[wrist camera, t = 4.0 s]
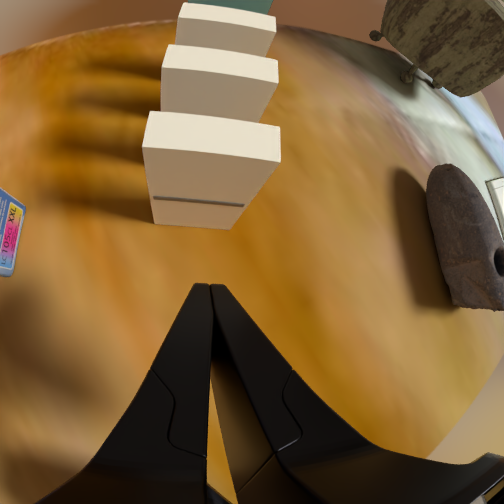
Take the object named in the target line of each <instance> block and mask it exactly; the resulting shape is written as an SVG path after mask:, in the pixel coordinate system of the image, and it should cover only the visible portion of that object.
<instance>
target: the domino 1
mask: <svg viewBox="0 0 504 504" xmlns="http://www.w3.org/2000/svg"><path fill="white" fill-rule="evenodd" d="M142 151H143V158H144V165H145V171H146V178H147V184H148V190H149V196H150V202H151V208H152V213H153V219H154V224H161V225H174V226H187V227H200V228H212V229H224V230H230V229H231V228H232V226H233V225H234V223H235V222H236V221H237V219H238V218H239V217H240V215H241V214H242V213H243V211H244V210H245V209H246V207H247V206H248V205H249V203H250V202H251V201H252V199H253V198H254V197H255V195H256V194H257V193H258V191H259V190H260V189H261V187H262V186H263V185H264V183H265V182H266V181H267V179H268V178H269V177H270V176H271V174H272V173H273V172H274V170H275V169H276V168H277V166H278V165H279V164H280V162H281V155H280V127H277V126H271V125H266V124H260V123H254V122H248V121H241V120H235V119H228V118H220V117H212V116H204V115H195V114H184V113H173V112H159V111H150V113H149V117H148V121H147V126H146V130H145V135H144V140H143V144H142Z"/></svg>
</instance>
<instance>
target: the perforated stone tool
mask: <svg viewBox="0 0 504 504" xmlns="http://www.w3.org/2000/svg"><path fill="white" fill-rule="evenodd" d="M426 197H427V208H428V215H429V219H430V223H431V226H432V230H433V233H434V240H435V244H436V248H437V252H438V257H439V261H440V266H441V269H442V273H443V274H444V278H445V282H446V283H447V284H448V285H449V287H450V292H451V296H452V298H451V299H452V303H453V304H454V305H458V306H460V307H462V308H471V309H479V308H480V309H491V310H493V311H494V312H495V311H497V310H498V311H504V243H503V241H502V238H501V235H500V233H499V230H498V228H497V225H496V223H495V220H494V218H493V216H492V214H491V212H490V209H489V208H488V206H487V204H486V202H485V200H484V198H483V197H482V195H481V193H480V192H479V190H478V189H477V187H476V186H475V184H474V183H473V182H472V180H471V179H470V178H469V177H468V176H467V175H466V174H465V173H464V172H463V171H462V170H460V169H459V168H458V167H456V166H454V165H452V164H444V165H437V166H436V167H435V168H434V169H432V171H431V173H430V175H429V178H428V181H427V189H426Z"/></svg>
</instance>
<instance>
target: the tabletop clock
mask: <svg viewBox="0 0 504 504" xmlns="http://www.w3.org/2000/svg"><path fill="white" fill-rule="evenodd" d="M502 1H503V2H504V0H502ZM369 35H370V38H371V39H372V40H373V41H379V40H380V39H381V37H385V38H386V40H387V41H388V42H389V43H390V44H391V45H392V46H393V47H394V48H396V49H397V50H398V51H399V52H400V53H401V54H403V55H404V56H405V57H406V58H407V59H409V60H410V61H411V62H412V63H413V66H412V67H411V69H410V70H409V71H403V72H402V73H401V80H402V81H403V82H405V83H410V82H412V80H413V76H412V74H413V73H414V72H415V71H416V70H417V69H418V68H419V69H420V70H422V71H423V72H424V73H426V74H427V75H428V76H430V77H431V78H432V79H433V81H432V83H433V86H434V87H435V88H437V89H439V88H442V86H443V87H444V88H445V89H447V90H448V91H449V92H451V93H453V94H454V95H457V96H459V97H465V96H469V95H472V94H474V93H476V92H478V91H480V90H481V89H483V88H484V87H486V86H488V85H490V84H491V83H493V82H495V81H496V80H498V79H500V78H501V77H502V76H503V75H504V7H503V6H502V5H501V3H500V2H499V1H498V0H387V3H386V7H385V11H384V15H383V19H382V24H381V33H380V32H378V31H376V30H374V31H371V32H370V34H369Z"/></svg>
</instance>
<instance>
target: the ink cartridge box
mask: <svg viewBox="0 0 504 504" xmlns="http://www.w3.org/2000/svg"><path fill="white" fill-rule="evenodd" d="M25 210H26V207H25V206H24V205H23V204H22V203H21V202H19V201H18V200H17V199H15V198H14V197H13V196H11V195H10V194H8V193H7V192H6V191H4V190H3V189H2V188H0V276H2V277H10V276H11V275H12V273H13V270H14V264H15V258H16V253H17V248H18V242H19V237H20V233H21V228H22V224H23V219H24V215H25Z"/></svg>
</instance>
